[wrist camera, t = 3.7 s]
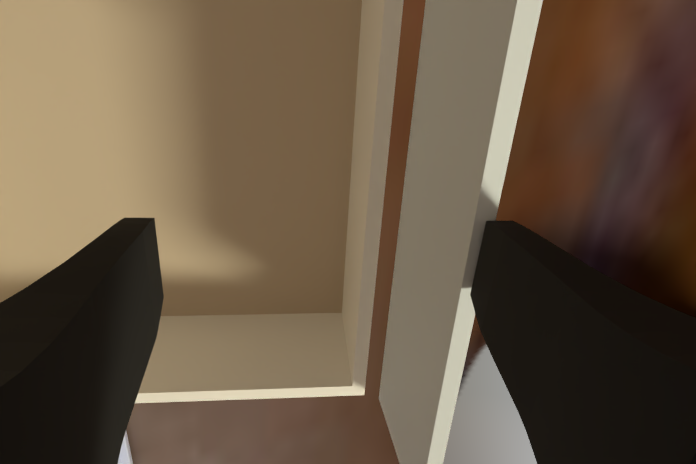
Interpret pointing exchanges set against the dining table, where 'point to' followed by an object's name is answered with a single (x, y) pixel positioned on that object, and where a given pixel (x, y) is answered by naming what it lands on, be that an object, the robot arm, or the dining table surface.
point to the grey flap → (449, 207)
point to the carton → (210, 174)
